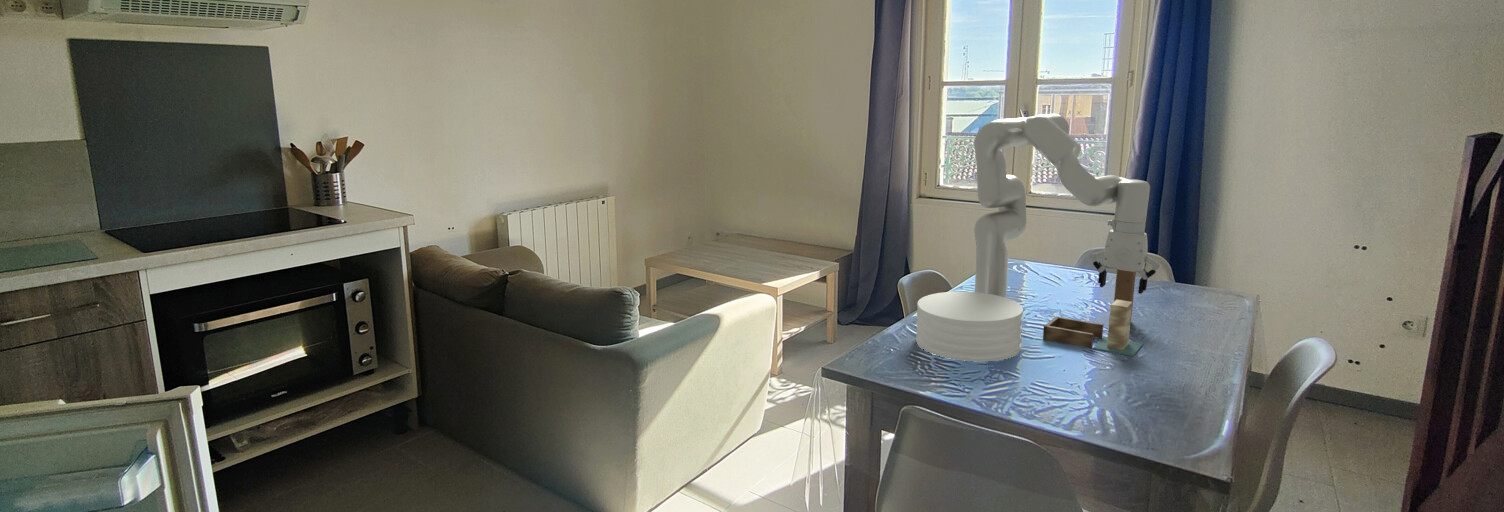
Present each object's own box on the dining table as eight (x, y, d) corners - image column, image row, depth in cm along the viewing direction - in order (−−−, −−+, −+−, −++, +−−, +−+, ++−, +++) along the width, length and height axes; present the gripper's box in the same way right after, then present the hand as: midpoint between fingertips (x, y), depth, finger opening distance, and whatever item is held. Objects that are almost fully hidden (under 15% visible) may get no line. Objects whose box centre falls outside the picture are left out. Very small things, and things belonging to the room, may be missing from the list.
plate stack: (1021, 333, 225) (1023, 295, 223) (1019, 367, 200) (1022, 325, 197) (922, 325, 234) (924, 288, 232) (909, 356, 209) (910, 315, 206)
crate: (1042, 339, 219) (1043, 326, 218) (1055, 329, 228) (1056, 316, 227) (1091, 348, 212) (1092, 334, 211) (1102, 337, 220) (1103, 324, 219)
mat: (1093, 349, 211) (1093, 347, 211) (1104, 338, 220) (1104, 336, 220) (1133, 356, 205) (1133, 355, 205) (1142, 344, 214) (1142, 343, 214)
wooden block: (1124, 329, 226) (1130, 269, 222) (1108, 327, 229) (1113, 267, 225) (1131, 321, 233) (1136, 263, 229) (1115, 319, 236) (1120, 261, 232)
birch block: (1107, 347, 211) (1110, 304, 209) (1112, 341, 216) (1116, 299, 213) (1122, 350, 209) (1126, 307, 206) (1128, 343, 213) (1132, 301, 211)
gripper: (1090, 225, 207) (1083, 286, 211) (1162, 234, 197) (1153, 298, 201) (1098, 220, 213) (1091, 280, 217) (1168, 228, 203) (1159, 291, 207)
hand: (1121, 289), depth 209 cm, fingers open, 9 cm apart
